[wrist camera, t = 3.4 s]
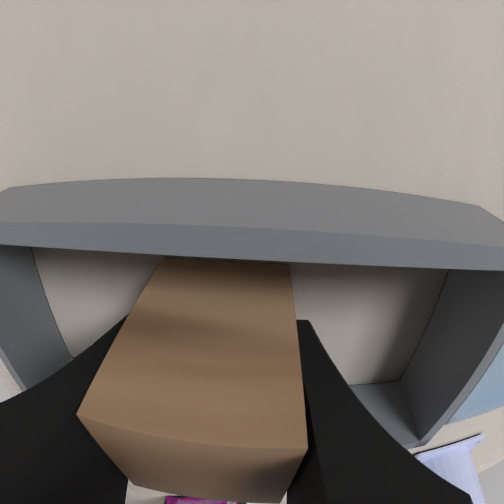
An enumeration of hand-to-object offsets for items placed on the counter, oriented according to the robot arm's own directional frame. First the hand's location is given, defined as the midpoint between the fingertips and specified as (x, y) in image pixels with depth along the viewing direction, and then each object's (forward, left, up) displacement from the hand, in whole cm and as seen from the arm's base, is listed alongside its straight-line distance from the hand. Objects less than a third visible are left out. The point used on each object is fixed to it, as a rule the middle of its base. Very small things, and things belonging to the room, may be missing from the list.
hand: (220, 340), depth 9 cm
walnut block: (0, 0, -1) cm, 1 cm away
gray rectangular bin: (0, 0, -1) cm, 1 cm away
